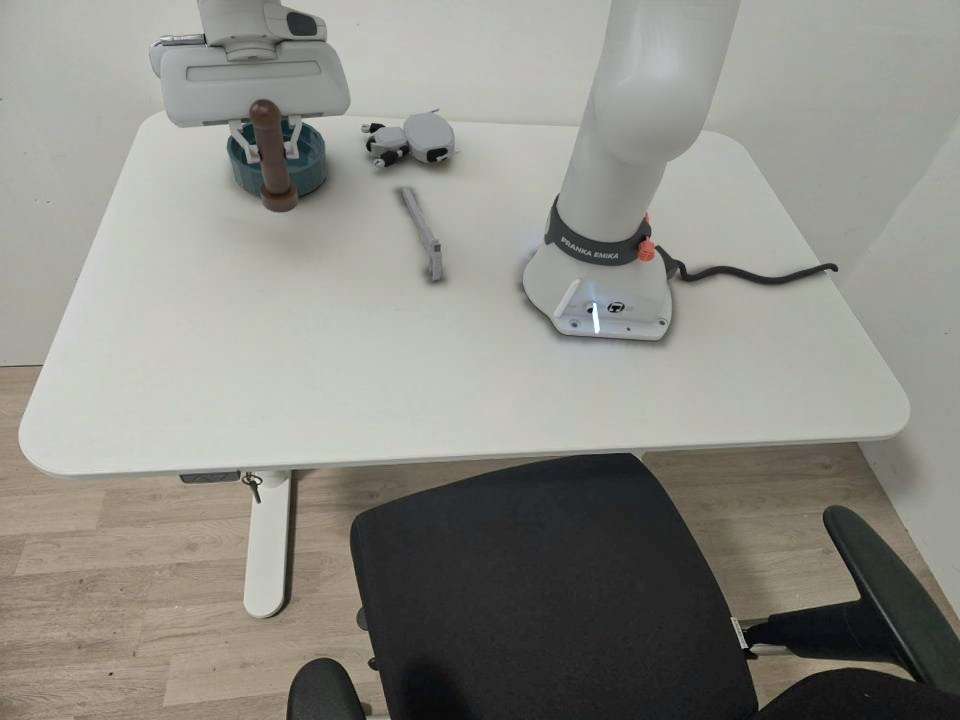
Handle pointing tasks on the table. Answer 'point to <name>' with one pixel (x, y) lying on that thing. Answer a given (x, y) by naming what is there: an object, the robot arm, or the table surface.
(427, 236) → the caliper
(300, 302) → the table surface
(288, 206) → the pestle
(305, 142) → the bowl
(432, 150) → the robot toy
